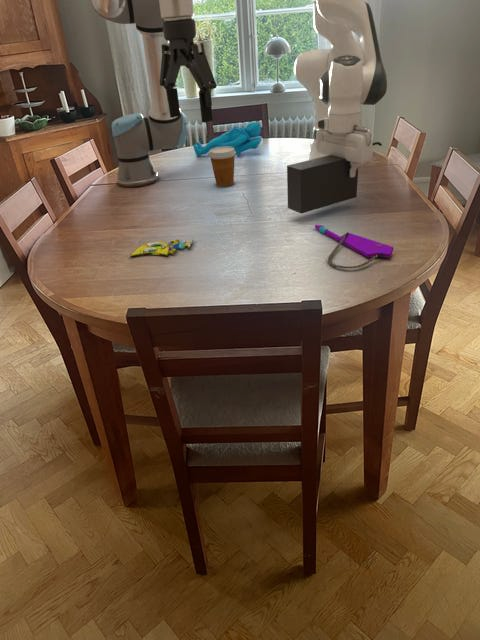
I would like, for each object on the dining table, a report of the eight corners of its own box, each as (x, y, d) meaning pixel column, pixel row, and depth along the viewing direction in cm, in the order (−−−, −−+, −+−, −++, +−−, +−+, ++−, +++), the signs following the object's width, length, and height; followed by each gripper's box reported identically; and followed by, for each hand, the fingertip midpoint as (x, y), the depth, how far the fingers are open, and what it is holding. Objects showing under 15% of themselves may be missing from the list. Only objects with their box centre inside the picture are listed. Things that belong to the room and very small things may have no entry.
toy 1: (185, 253, 123) (129, 254, 125) (186, 256, 123) (130, 257, 125) (193, 237, 131) (141, 238, 133) (194, 240, 132) (141, 241, 134)
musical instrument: (376, 279, 107) (404, 235, 119) (376, 271, 106) (404, 227, 118) (282, 266, 120) (316, 227, 132) (281, 259, 119) (315, 220, 131)
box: (300, 213, 133) (300, 170, 127) (287, 208, 138) (286, 165, 132) (356, 197, 142) (359, 155, 135) (342, 192, 146) (344, 151, 140)
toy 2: (199, 135, 215) (262, 115, 205) (207, 159, 220) (269, 140, 210) (187, 145, 201) (254, 124, 191) (196, 170, 206) (262, 151, 196)
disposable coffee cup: (207, 187, 170) (203, 152, 164) (218, 179, 178) (215, 145, 171) (232, 188, 167) (229, 153, 161) (242, 180, 174) (239, 146, 168)
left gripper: (226, 14, 102) (234, 120, 114) (162, 20, 119) (175, 112, 130) (197, 17, 98) (209, 126, 110) (135, 22, 115) (151, 117, 126)
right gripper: (380, 126, 125) (376, 179, 133) (329, 117, 140) (328, 165, 148) (362, 130, 123) (359, 184, 130) (312, 120, 138) (311, 169, 145)
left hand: (190, 119), depth 120 cm, fingers open, 13 cm apart
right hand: (342, 174), depth 139 cm, fingers closed on box, 6 cm apart
